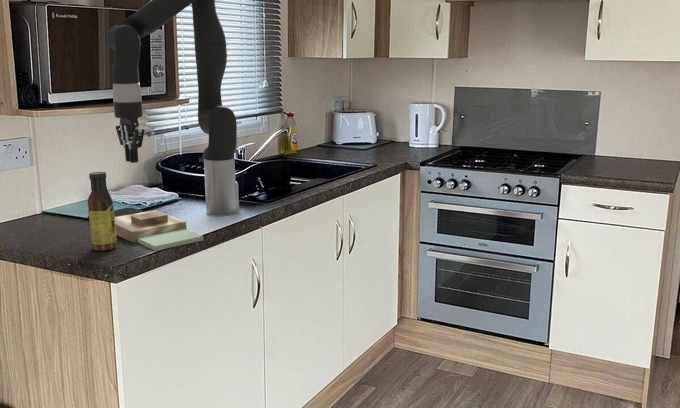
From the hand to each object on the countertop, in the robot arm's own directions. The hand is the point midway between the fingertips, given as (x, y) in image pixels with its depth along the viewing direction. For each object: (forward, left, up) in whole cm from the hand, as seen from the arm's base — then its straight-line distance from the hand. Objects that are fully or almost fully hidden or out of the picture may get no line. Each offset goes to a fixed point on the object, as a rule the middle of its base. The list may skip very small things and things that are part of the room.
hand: (132, 161), depth 193 cm
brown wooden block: (0, +8, -16) cm, 18 cm away
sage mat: (0, +20, -19) cm, 28 cm away
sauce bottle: (+16, +14, -19) cm, 29 cm away
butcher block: (0, +5, -19) cm, 20 cm away
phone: (-1, -17, -20) cm, 26 cm away
